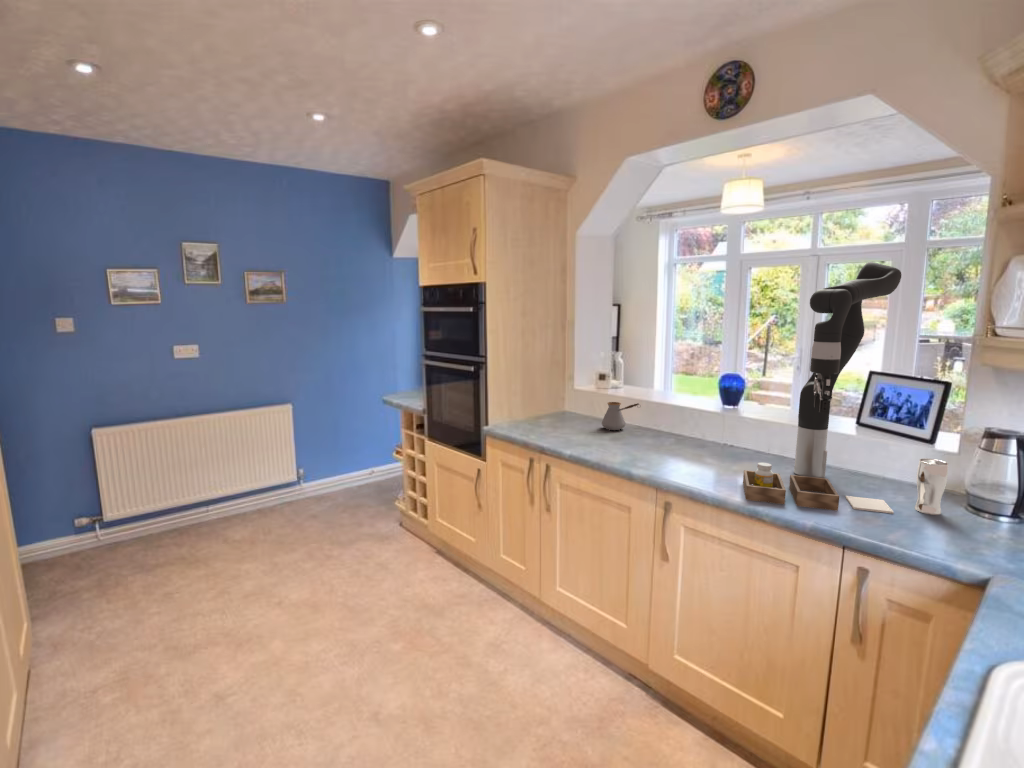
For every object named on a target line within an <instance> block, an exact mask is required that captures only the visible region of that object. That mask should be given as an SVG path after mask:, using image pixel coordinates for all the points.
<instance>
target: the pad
mask: <svg viewBox="0 0 1024 768" xmlns="http://www.w3.org/2000/svg"><path fill="white" fill-rule="evenodd" d="M845 499H846V501H847V502H848V504H849V505H850V507H852V509H853V510H860V511H868V512H877V513H884V514H885V513H886V514H891V515H892V514H895V513H894V510H893V509H892V508H891V507H890V506H889V505H888V503H886V501H885V500H884V499H877V498H870V497H868V498H867V497H861V496H860V497H859V496H850V495H845Z"/></svg>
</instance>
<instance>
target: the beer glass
mask: <svg viewBox="0 0 1024 768" xmlns="http://www.w3.org/2000/svg"><path fill="white" fill-rule="evenodd" d="M948 474H949V463H948V462H946V461H944V460H941V459H934V458H919V461H918V465H917V469H916V486H917V487H916V488H917V499H916V503H915V505H914V510H915V511H916V510H917V511H916V512H918V511H919V513H921V514H925V515H930V516H932V515H933V516H939V515H941V513H942V509H941V500H942V497H943V495H944V492H945V488H946V485H947V483H948Z"/></svg>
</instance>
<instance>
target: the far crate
mask: <svg viewBox="0 0 1024 768" xmlns="http://www.w3.org/2000/svg"><path fill="white" fill-rule="evenodd" d="M742 476H743V477H742V478H743V480H742V486H743V490H744V491H743V493H744V495H745V496H744V497H745V500H746V501H752V502H760V503H768V504H769V503H770V504H777V505H785V503H786V491H787V489H786V487H785V484H784V482H783V480H782V477H781V475H780V473H776V472H775V473H774V472H773V487H772V488H769V487H760V486H754V478H755V470H746V469H744V470H743V475H742ZM751 484H753V485H751Z"/></svg>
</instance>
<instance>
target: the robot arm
mask: <svg viewBox="0 0 1024 768" xmlns="http://www.w3.org/2000/svg"><path fill="white" fill-rule="evenodd" d="M901 280H902V272H901V270H900V269H898V268H897V267H894V266H890V265H887V264H882V263H878V262H875V261H868V262H866V263H864V264H863V266H862V268H861V269H860V270H859V272H858V274H857V276H856V278H855V279H851V280H848V281H845V282H843V283H840V284H838V285H835V286H829V287H828V286H827V287H824V288H819V289H818V290H816V291H815V292H813V293H812V295H811V297H810V298H809V307H810V308H811V310H812V311H814V312H815V313H817V314H832V315H831V316H830V317H831V318H829V319H828V320H823V321H818V322H817V323H815V326H814V331H813V343H812V347H811V357H810V366H809V371H810V373H812V375H811V376H810V377H809V378H808V380H807V381H806V383H805V384H804V386H803V387H802V388H801V390H800V393H799V401H798V402H799V403H798V405H799V406H798V416H797V417H798V418H797V420H798V421H797V431H796V433H797V434H796V442H795V443H796V445H795V446H796V447H795V459H794V466H793V467H794V468H793V469H794V470H793V472H794V475H796V476H806V477H816V478H825V479H826V471H827V468H826V467H827V458H828V450H827V442H828V441H827V440H828V433H829V422H830V409H831V401H832V399H833V390H834V387H835V385H836V382H837V380H838V378H839V376H840V374H841V372H842V371H843V370H844V368H845V367H846V366H847V365H848V363H849V362H850V360H851V359H852V357H853V356H854V354H855V353H856V351H857V349H858V347H859V345H860V343H861V341H862V339H863V337H864V336H865V335H864V334H865V323H864V317H863V312H862V307H863V306H862V305H863V304H862V303H863V301H864V300H869V299H872V298H878V297H886V296H889V295H890V294H892V293H894V292H895V290H896V289H897V288H898V286H899V284H900V283H901Z"/></svg>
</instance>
